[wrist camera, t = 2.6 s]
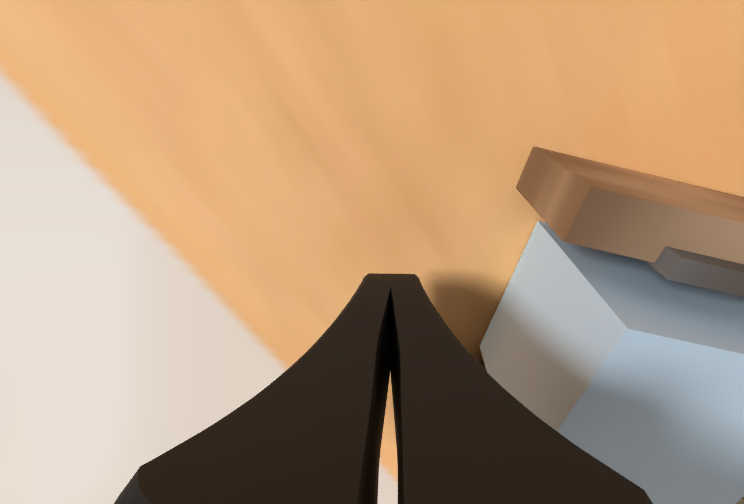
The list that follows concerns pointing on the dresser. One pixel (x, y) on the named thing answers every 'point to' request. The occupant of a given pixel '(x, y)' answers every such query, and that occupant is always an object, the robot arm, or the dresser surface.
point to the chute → (640, 218)
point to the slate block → (626, 367)
